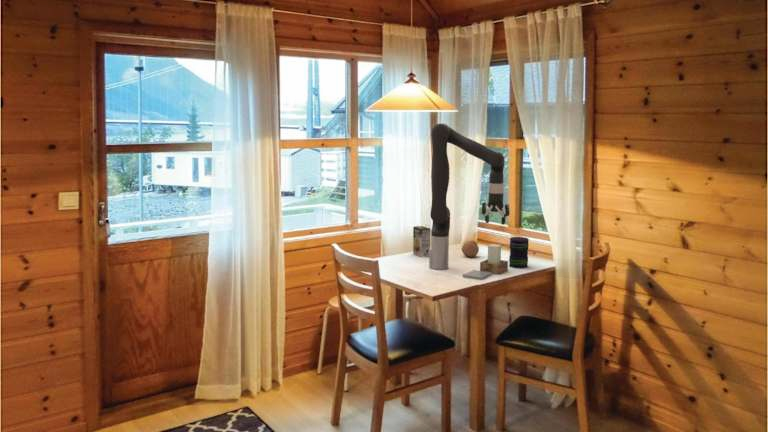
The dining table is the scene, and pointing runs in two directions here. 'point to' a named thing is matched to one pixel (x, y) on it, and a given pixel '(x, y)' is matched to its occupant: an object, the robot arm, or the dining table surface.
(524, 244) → the dark blue cylinder
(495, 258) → the tea tin
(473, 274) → the blue-grey square panel
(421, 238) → the coffee box
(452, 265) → the dining table surface
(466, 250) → the onion
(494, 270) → the crate
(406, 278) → the dining table surface
